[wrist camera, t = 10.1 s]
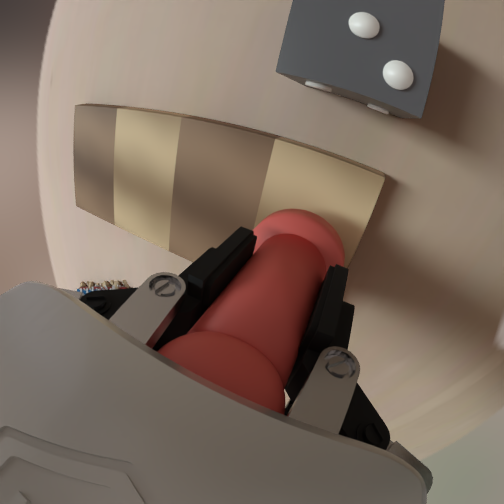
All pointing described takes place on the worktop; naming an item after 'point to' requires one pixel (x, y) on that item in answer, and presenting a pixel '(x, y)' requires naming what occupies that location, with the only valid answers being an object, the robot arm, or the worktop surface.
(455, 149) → the worktop surface
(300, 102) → the worktop surface
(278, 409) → the pawn
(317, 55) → the die
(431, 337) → the worktop surface
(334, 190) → the board
